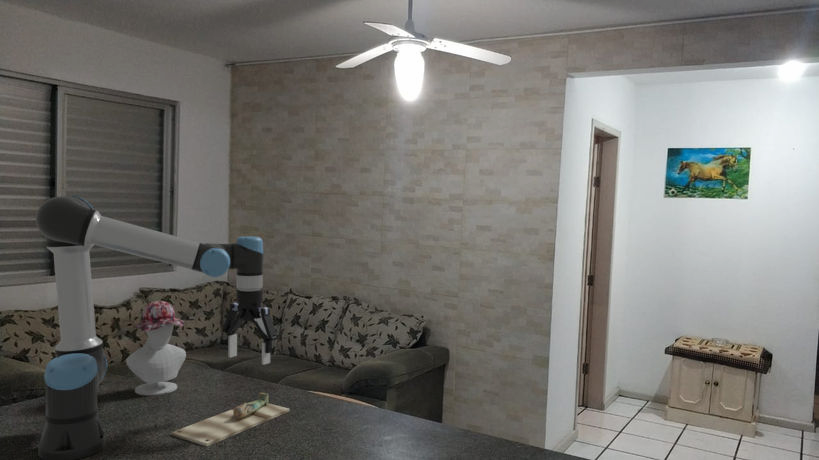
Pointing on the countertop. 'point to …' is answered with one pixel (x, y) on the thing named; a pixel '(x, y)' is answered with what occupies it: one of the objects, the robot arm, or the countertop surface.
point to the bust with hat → (157, 350)
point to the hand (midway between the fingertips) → (249, 360)
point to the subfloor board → (227, 425)
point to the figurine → (251, 406)
